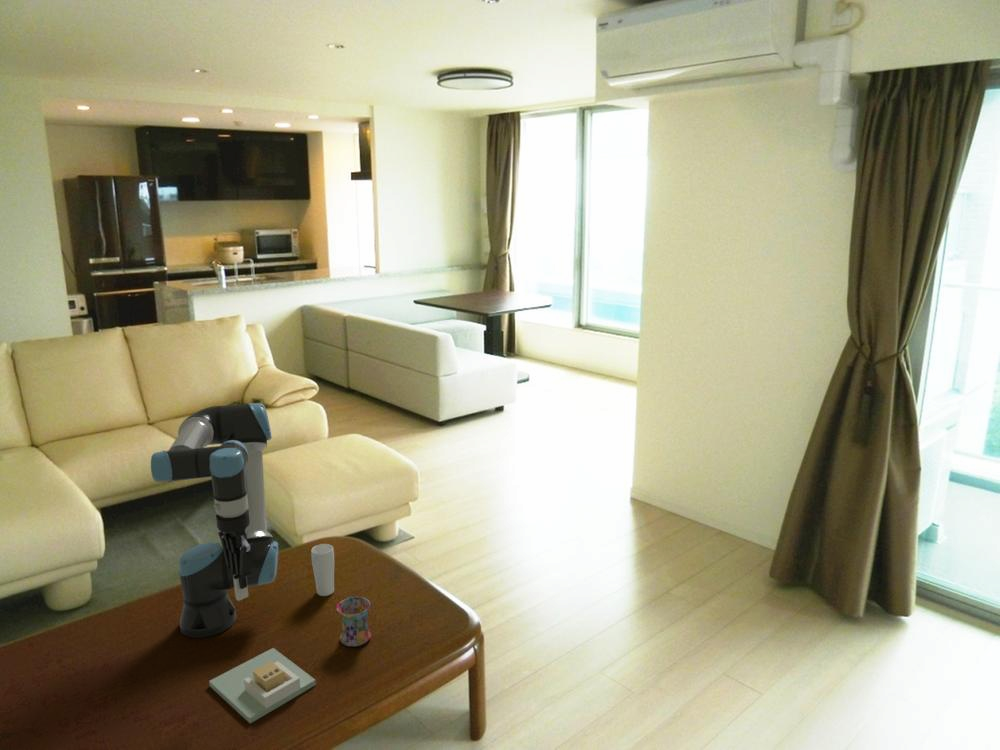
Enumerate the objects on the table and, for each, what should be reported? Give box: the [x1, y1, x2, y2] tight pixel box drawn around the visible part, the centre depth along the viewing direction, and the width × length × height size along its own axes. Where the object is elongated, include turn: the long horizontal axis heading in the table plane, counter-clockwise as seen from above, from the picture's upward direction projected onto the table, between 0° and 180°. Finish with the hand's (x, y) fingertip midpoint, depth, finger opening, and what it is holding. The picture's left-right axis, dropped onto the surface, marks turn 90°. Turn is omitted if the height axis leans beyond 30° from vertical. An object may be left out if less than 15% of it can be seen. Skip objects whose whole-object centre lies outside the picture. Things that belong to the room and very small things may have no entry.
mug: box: [335, 596, 372, 647], centre depth 195 cm, size 12×9×11 cm
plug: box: [253, 661, 285, 693], centre depth 173 cm, size 6×5×5 cm
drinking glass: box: [310, 543, 335, 597], centre depth 218 cm, size 7×7×15 cm
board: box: [208, 647, 317, 724], centre depth 177 cm, size 20×18×4 cm
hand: (242, 597), depth 176 cm, fingers closed
